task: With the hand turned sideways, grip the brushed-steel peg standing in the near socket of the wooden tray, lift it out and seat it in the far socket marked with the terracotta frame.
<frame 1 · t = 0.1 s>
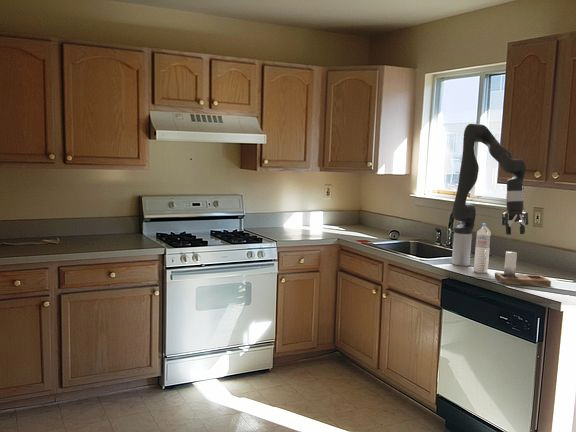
hand: (515, 234, 264), 22 cm above the worktop, tool pointing down, fingers open, 8 cm apart
peg: (508, 281, 264), resting in wooden tray
water bottle: (480, 272, 281), on the worktop
wooden tray: (521, 281, 263), on the worktop
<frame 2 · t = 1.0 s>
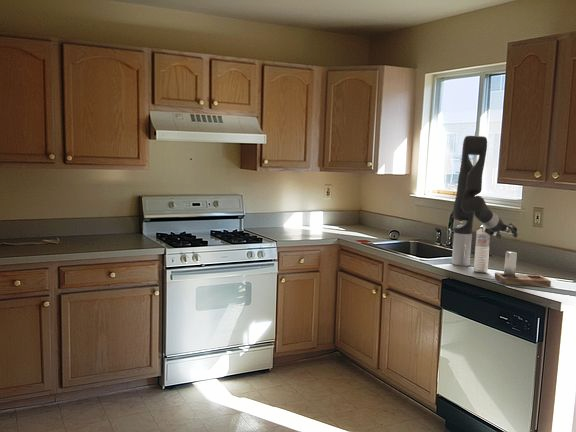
hand: (508, 236, 275), 19 cm above the worktop, tool tilted 60°, fingers open, 8 cm apart
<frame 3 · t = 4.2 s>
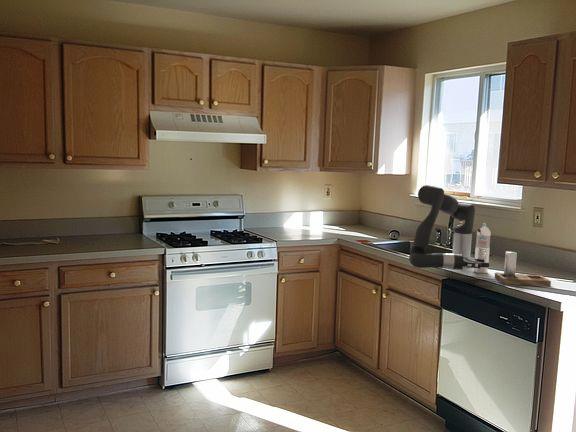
hand: (486, 263, 263), 8 cm above the worktop, tool horizontal, fingers open, 8 cm apart
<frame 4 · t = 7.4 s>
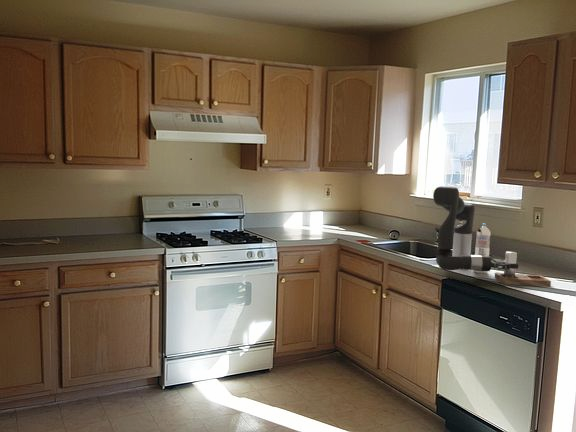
hand: (515, 265, 262), 8 cm above the worktop, tool horizontal, fingers closed on peg, 5 cm apart
peg: (508, 281, 264), resting in wooden tray, touching gripper
everything else where it was.
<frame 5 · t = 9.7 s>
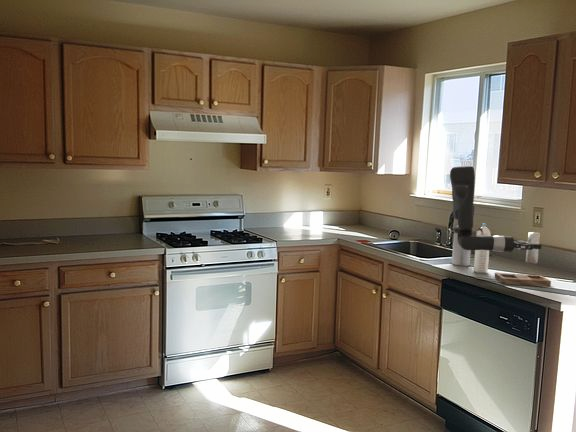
hand: (538, 245, 260), 18 cm above the worktop, tool horizontal, fingers closed on peg, 5 cm apart
peg: (531, 262, 261), point 10 cm above the worktop, touching gripper
everything else where it was.
when the fingers open (9 cm above the worktop, at t = 12.4 s): peg drops 1 cm, resting in wooden tray.
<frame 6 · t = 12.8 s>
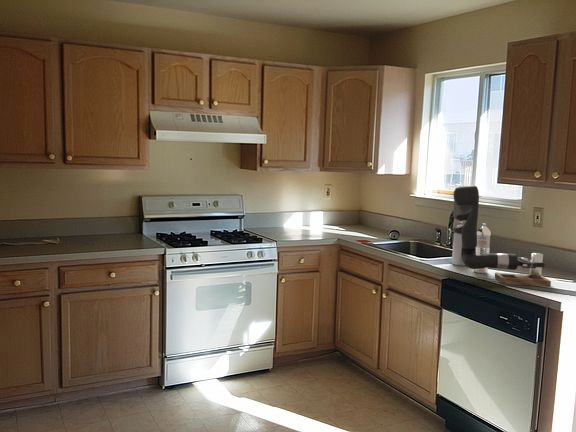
hand: (540, 263, 261), 10 cm above the worktop, tool horizontal, fingers open, 8 cm apart
peg: (534, 282, 263), resting in wooden tray
everything else where it was.
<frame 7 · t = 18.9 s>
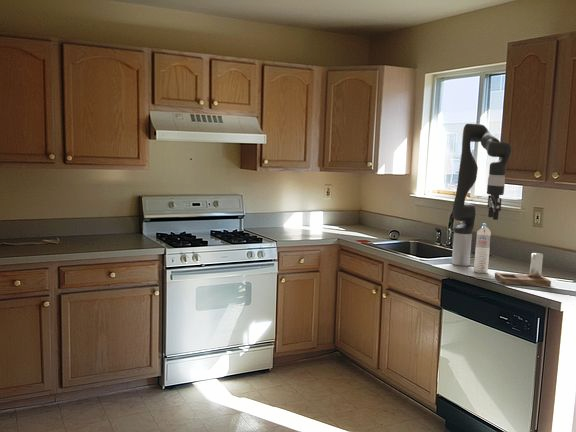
hand: (492, 218, 263), 30 cm above the worktop, tool pointing down, fingers open, 8 cm apart
nothing on the worktop moved.
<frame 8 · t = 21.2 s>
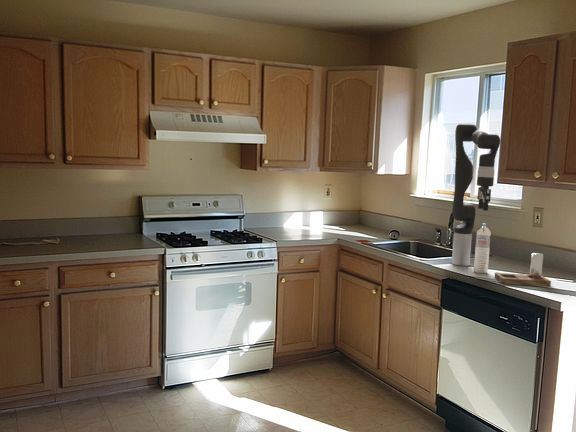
hand: (482, 209, 267), 33 cm above the worktop, tool pointing down, fingers open, 8 cm apart
nothing on the worktop moved.
at the end: peg 0.1 cm from the target spot on the wooden tray, point 0.0 cm above the wooden tray's base; peg tilted 1°; the gripper is holding nothing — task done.
